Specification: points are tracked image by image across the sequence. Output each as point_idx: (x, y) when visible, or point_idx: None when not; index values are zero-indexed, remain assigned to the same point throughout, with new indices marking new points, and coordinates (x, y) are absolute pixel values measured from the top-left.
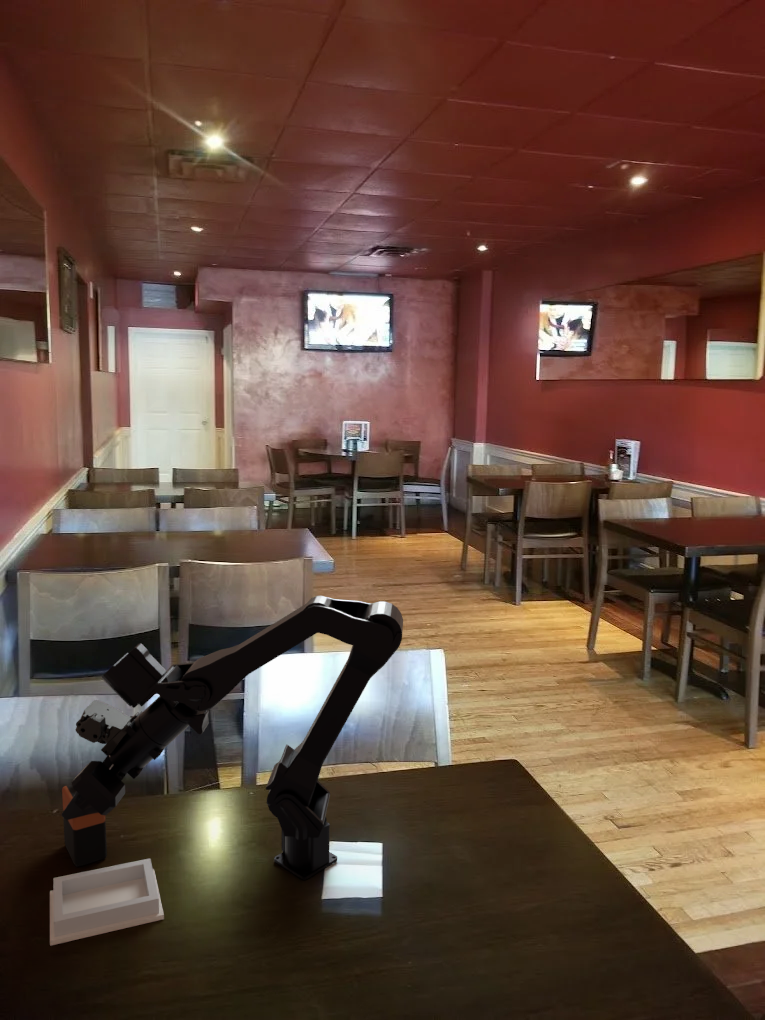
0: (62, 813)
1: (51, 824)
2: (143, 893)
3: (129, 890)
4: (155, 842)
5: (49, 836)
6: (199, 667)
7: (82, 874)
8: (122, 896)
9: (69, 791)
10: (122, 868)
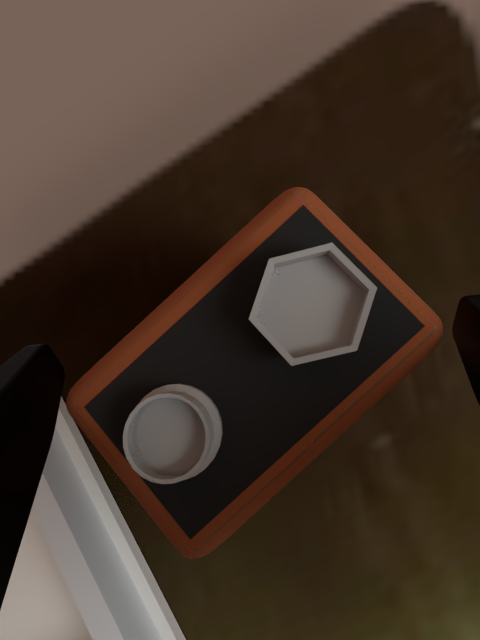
0: (15, 355)
1: (397, 160)
2: None
3: (70, 621)
4: (367, 583)
5: (327, 196)
6: None
7: None
8: (41, 609)
9: (233, 269)
10: (80, 613)
